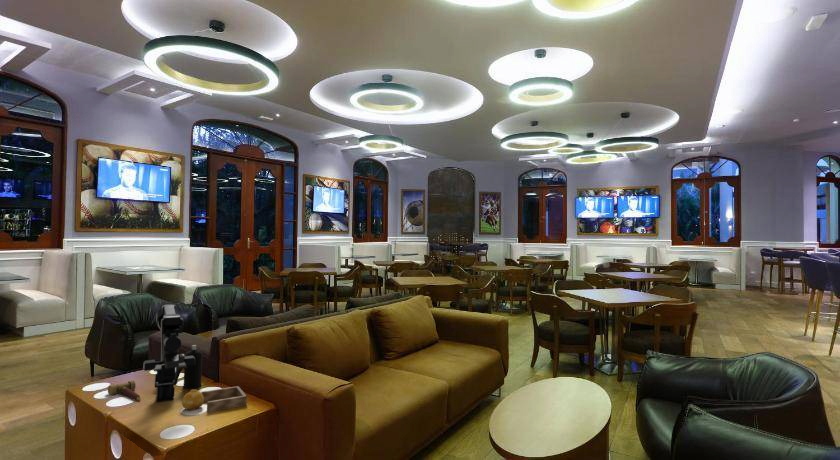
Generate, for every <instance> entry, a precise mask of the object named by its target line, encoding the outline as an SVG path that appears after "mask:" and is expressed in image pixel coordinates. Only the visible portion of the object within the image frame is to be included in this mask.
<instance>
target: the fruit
mask: <svg viewBox="0 0 840 460" xmlns="http://www.w3.org/2000/svg"><path fill="white" fill-rule="evenodd" d="M189 390H190V391H189V392H187V393H186V394H185V395H184V396H183V398H182V401H181V405H182V407H183V408H184V409H185V410H188V411H194V410H198V409H199V408H201V407H202V405H203V404H204V402H205V401H204V397H203V394H202V393H201V392H202V391H200V390H198V389H189Z"/></svg>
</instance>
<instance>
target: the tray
mask: <svg viewBox="0 0 840 460" xmlns="http://www.w3.org/2000/svg"><path fill="white" fill-rule="evenodd" d="M200 392H201V393H202V394H203V397H204V402H206V401H207V402H206V412H207V413H209V412H216V411H222V410H228V409H231V408H239V407H243V406H247V403H248V402H247V401H248V400H247V397H248V395H246V393H245V392H244V391H243V389H241V387H240V386H239V385H237V386H232V387H231V386H229V387H223V388H216V389H210V390H204V391H200Z"/></svg>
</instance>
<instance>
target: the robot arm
mask: <svg viewBox="0 0 840 460" xmlns="http://www.w3.org/2000/svg"><path fill="white" fill-rule="evenodd" d="M178 313H179V312H178V309H177V308H176V305H175V304H163V305H161V308H159V309H158V310H157V311H156V317H155V321H156V323H157V327H158V329H159V330H160V333H161V335H160V336H161V337H160V338H161V339H160V340H161V341H160V342H161V343H160V346H161V347H160V350H161V351H160V361H156V359H148V360H144V361H143V367H142V368H143V371H146V372H147V371H154V372H156V373H155V374H154V381H153V386H154V388H156V396H155V400H156V402H157V403H158V402H159V403H161V402H166V401H171V400H174V397H175V389H176V388H175V386H177V384H178V380H179V377H180V375H181V372H182V371H183V370H184V368H186V365H187V366H189V365H195V364H196V359H195V357H194V356H184V355H185V353H181V354H179V349H180V348H181V346H182V341H181V339H180V334H183V332H184V330H185V321H184V319H183V317H181V315H180V314H178ZM175 368H176V371H175Z"/></svg>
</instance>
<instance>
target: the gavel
mask: <svg viewBox="0 0 840 460" xmlns="http://www.w3.org/2000/svg"><path fill="white" fill-rule="evenodd" d="M136 387H137V386H136V381H135V380H129V381H127V382H123V383H118V384H111V385H108V387H107V393H108V396H114V395H116V394H121V393H122V394H124V395H126V396H127V397H129V398H130V399H131V400H133V401H139V402H140V401H142V398H141V396H140V395H139V394H138V393H136V392H135V390H136Z"/></svg>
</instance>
